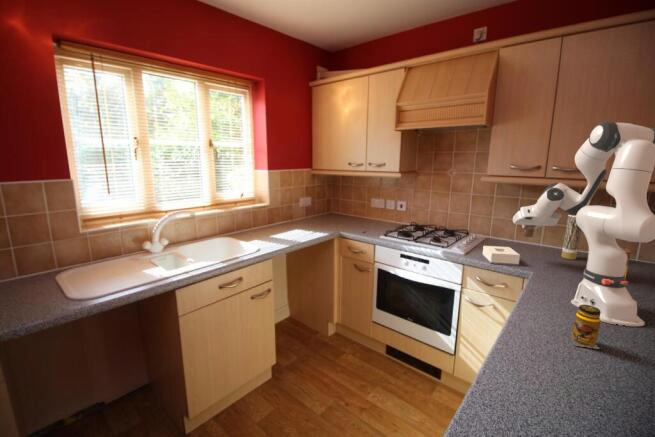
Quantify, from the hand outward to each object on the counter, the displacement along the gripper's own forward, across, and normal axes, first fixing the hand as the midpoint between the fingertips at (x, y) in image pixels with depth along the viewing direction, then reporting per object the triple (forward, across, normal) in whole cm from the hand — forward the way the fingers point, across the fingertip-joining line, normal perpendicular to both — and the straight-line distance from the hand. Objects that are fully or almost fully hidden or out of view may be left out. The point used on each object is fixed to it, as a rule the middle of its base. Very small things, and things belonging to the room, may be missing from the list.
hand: (529, 227), depth 172 cm
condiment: (-42, +14, +70) cm, 83 cm away
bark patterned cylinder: (+22, -28, +6) cm, 36 cm away
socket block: (+13, +13, +15) cm, 23 cm away
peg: (+3, 0, +4) cm, 5 cm away
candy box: (0, -31, +27) cm, 41 cm away
